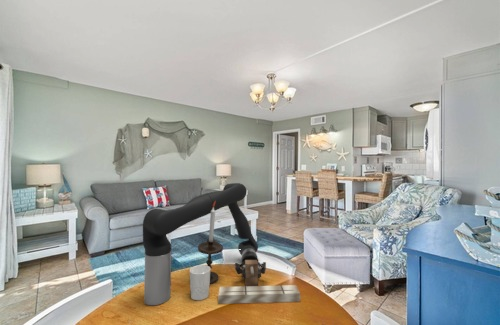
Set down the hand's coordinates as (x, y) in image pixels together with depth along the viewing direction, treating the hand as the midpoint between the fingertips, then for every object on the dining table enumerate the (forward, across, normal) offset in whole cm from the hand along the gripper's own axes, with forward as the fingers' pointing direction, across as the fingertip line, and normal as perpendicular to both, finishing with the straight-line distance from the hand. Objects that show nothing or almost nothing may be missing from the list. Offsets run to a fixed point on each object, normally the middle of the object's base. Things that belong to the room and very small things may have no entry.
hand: (251, 276), depth 88 cm
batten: (+3, +2, +7) cm, 8 cm away
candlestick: (-13, -19, +7) cm, 23 cm away
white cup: (0, -20, +7) cm, 21 cm away
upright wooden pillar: (0, 0, +7) cm, 7 cm away
